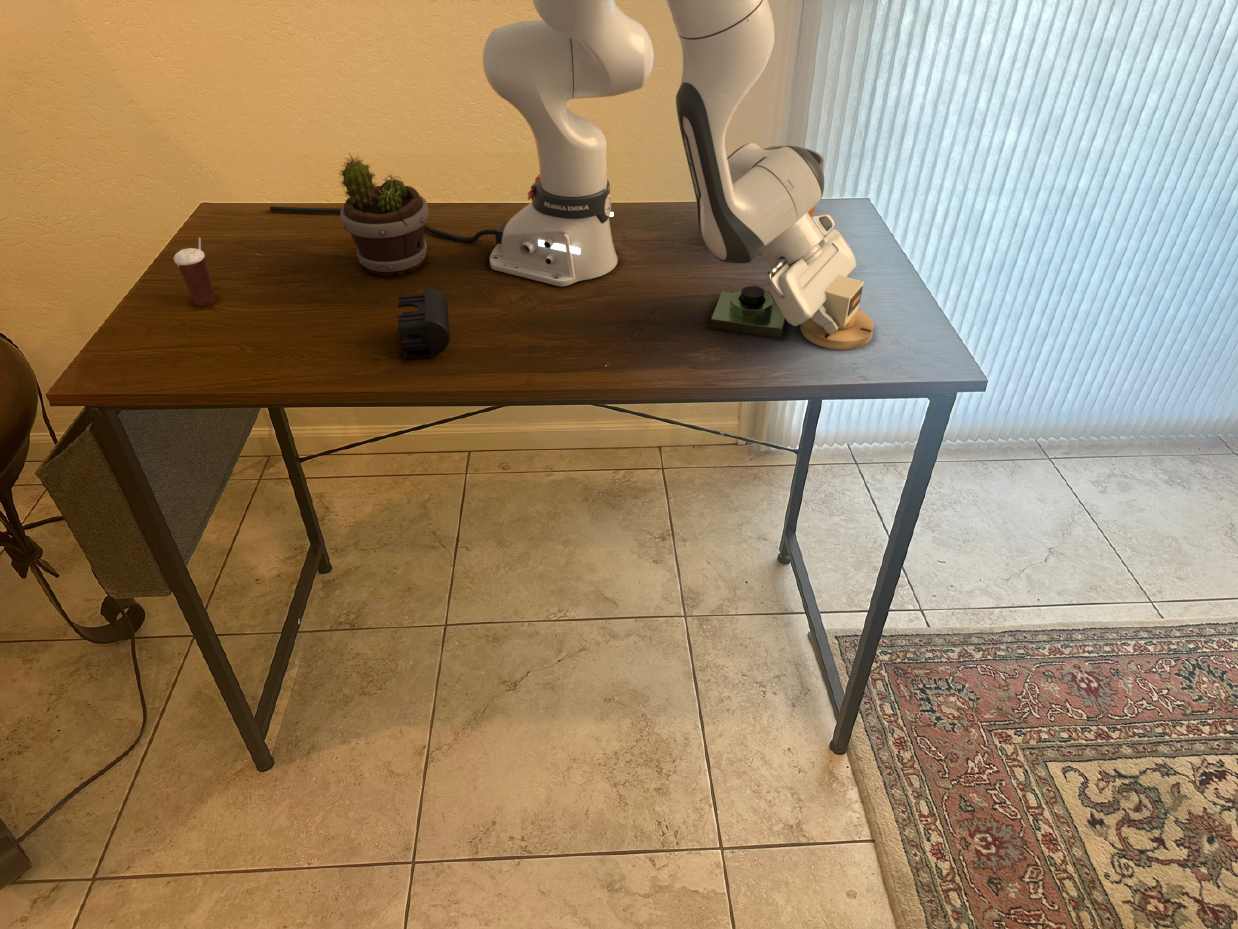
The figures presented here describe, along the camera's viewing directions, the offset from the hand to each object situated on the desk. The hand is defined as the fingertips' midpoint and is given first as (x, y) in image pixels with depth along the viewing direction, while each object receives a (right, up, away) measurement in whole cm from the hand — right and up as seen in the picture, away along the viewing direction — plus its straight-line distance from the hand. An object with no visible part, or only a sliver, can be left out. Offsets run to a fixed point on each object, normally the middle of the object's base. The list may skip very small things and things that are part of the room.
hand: (844, 319), depth 132 cm
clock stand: (-1, -1, +2) cm, 2 cm away
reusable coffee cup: (-5, +19, +26) cm, 33 cm away
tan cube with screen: (-1, 0, +1) cm, 1 cm away
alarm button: (-14, +3, +3) cm, 14 cm away
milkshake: (-103, +5, +10) cm, 104 cm away
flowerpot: (-74, +13, +20) cm, 78 cm away
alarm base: (-14, +1, +5) cm, 15 cm away
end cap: (-64, -4, 0) cm, 64 cm away
